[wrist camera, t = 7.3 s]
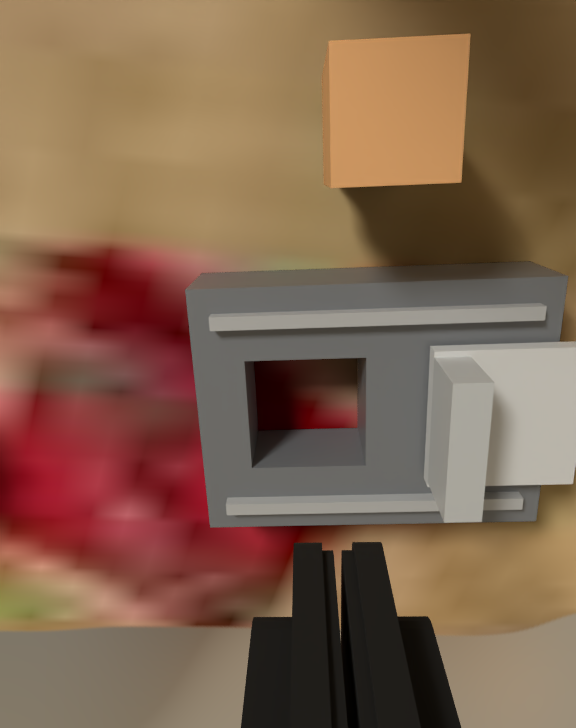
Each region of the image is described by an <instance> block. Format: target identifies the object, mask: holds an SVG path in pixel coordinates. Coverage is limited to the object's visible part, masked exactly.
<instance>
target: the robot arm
mask: <svg viewBox="0 0 576 728" xmlns="http://www.w3.org/2000/svg"><path fill="white" fill-rule="evenodd" d="M241 728H461V725H460V722H459V718H458V715H457V711H456V708H455V704H454V701H453V697H452V693H451V690H450V687H449V683H448V679H447V676H446V672H445V669H444V665H443V662H442V658H441V655H440V651H439V647H438V644H437V641H436V637H435V633H434V630H433V627H432V624H431V621H430V619H429V618H428V617H426V616H423V617H397V612H396V608H395V603H394V598H393V594H392V589H391V584H390V579H389V575H388V570H387V565H386V560H385V556H384V551H383V547H382V543H381V542H353V543H352V550H342V565H341V640H340V628H339V616H338V604H337V591H336V579H335V567H334V555H333V550H332V551H322V543H294V555H293V604H292V617H254V618H253V622H252V630H251V639H250V648H249V658H248V667H247V676H246V686H245V695H244V705H243V714H242V723H241Z"/></svg>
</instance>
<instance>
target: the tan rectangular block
mask: <svg viewBox="0 0 576 728" xmlns="http://www.w3.org/2000/svg"><path fill="white" fill-rule="evenodd" d="M470 35H471V33H470V34H451V35H432V36H413V37H394V38H375V39H356V40H337V41H329V43H328V48H327V53H326V58H325V63H324V68H323V73H322V113H323V168H324V185H326V186H328V187H330V188H345V187H369V186H393V185H416V184H440V183H461V180H462V164H463V148H464V132H465V116H466V99H467V83H468V67H469V51H470Z"/></svg>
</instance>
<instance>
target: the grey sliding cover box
mask: <svg viewBox="0 0 576 728" xmlns="http://www.w3.org/2000/svg"><path fill="white" fill-rule="evenodd" d="M567 282H568V276H567V275H564V274H561V273H559V272H556V271H554V270H551V269H548V268H546V267H543V266H541V265H538V264H536V263H533V262H530V261H525V262H498V263H471V264H443V265H416V266H389V267H361V268H334V269H307V270H279V271H252V272H225V273H202V274H201V275H200V276H199V277H198V278H197V279H196V280H195V281H194V282H193V283H192V284H191V285H190V286H189V287H187V288H186V289H185V292H186V302H187V311H188V321H189V330H190V340H191V349H192V359H193V368H194V378H195V387H196V397H197V406H198V416H199V425H200V435H201V444H202V454H203V463H204V473H205V482H206V492H207V501H208V511H209V521H210V527H253V526H307V525H361V524H415V523H444V521H443V519H442V516H441V514H440V511H439V509H438V506H437V504H436V502H435V499H434V497H433V494H432V492H431V489H430V487H427V485H426V482H425V480H424V464H425V444H426V423H427V402H428V382H429V361H430V346H442V345H475V344H507V343H540V342H560V335H561V327H562V320H563V312H564V304H565V297H566V289H567ZM338 358H358V428H340V429H300V430H261V431H258V416H257V401H256V385H255V370H254V361H272V360H305V359H338ZM540 487H541V485H507V486H485V493H484V504H483V515H482V522H524V521H536V517H537V510H538V502H539V495H540ZM452 523H469V522H452Z"/></svg>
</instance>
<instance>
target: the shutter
mask: <svg viewBox="0 0 576 728" xmlns="http://www.w3.org/2000/svg"><path fill="white" fill-rule="evenodd" d="M575 467H576V341H572V342H540V343H507V344H475V345H442V346H430V361H429V382H428V402H427V423H426V444H425V464H424V480H425V482H426V485H427V487H430V489H431V492H432V494H433V497H434V499H435V502H436V504H437V506H438V509H439V511H440V514H441V516H442V519H443V521H444V523H452V522H482V515H483V504H484V493H485V486H507V485H555V484H573V480H574V473H575Z"/></svg>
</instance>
